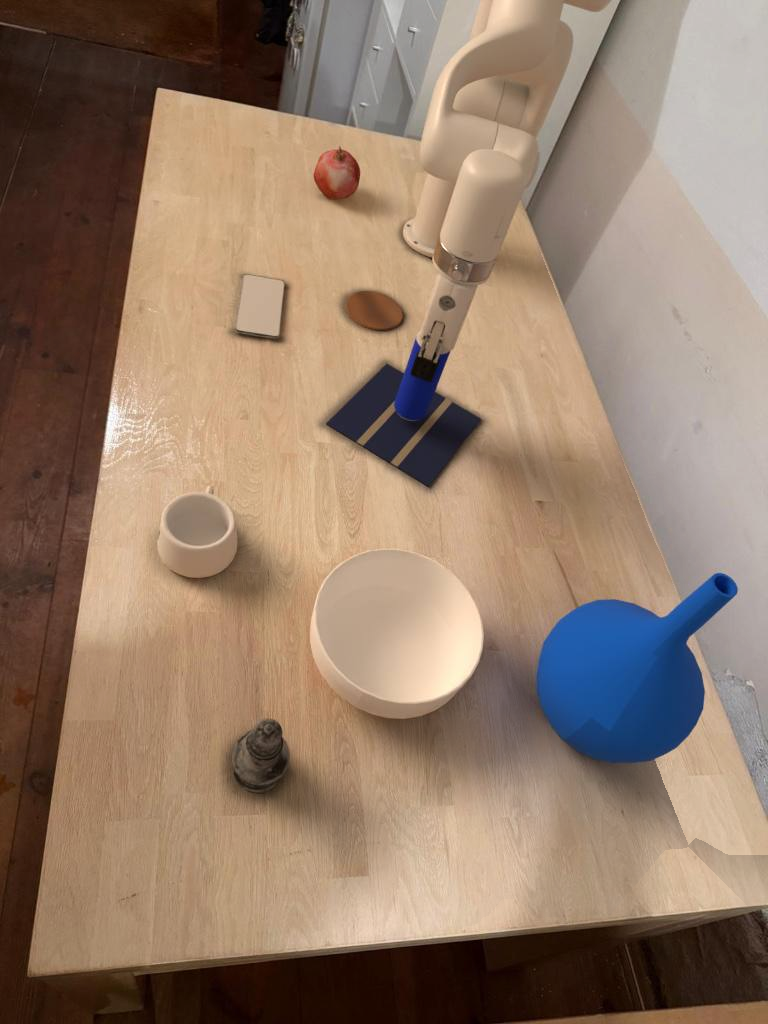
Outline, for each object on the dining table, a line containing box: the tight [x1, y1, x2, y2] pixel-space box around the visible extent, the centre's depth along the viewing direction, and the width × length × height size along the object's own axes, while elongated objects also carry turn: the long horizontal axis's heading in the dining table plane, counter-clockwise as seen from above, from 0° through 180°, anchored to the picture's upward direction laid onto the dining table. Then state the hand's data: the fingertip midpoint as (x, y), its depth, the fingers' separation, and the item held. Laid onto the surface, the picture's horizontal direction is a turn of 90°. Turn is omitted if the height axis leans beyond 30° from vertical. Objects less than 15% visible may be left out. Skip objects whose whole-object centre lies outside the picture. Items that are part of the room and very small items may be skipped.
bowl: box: [309, 547, 485, 720], centre depth 87 cm, size 20×20×8 cm
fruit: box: [313, 145, 361, 200], centre depth 145 cm, size 9×10×10 cm
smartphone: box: [234, 273, 286, 340], centre depth 122 cm, size 7×1×15 cm
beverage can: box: [394, 329, 451, 421], centre depth 107 cm, size 5×5×15 cm
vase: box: [536, 572, 739, 764], centre depth 80 cm, size 18×18×30 cm
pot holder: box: [325, 363, 482, 488], centre depth 114 cm, size 18×18×1 cm
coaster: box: [345, 290, 403, 331], centre depth 129 cm, size 10×10×1 cm
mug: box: [156, 485, 239, 579], centre depth 91 cm, size 12×10×6 cm
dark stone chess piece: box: [231, 717, 291, 794], centre depth 74 cm, size 6×6×12 cm
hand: (426, 363), depth 106 cm, fingers closed on beverage can, 5 cm apart
